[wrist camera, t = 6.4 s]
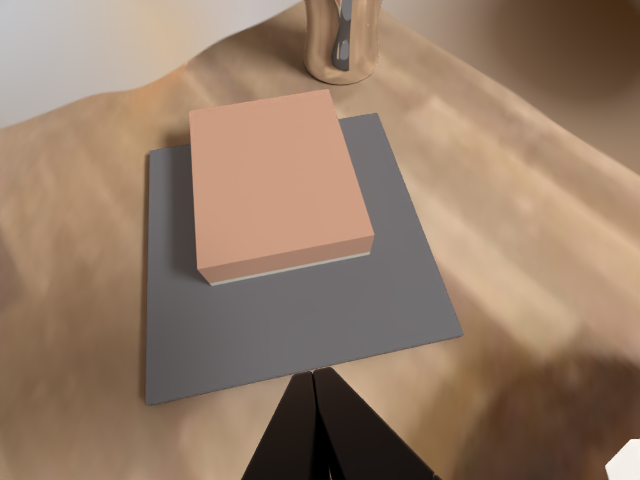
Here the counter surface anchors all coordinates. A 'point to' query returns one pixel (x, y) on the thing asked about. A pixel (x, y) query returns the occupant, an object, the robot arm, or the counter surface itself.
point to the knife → (625, 462)
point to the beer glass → (341, 39)
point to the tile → (274, 188)
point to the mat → (287, 288)
